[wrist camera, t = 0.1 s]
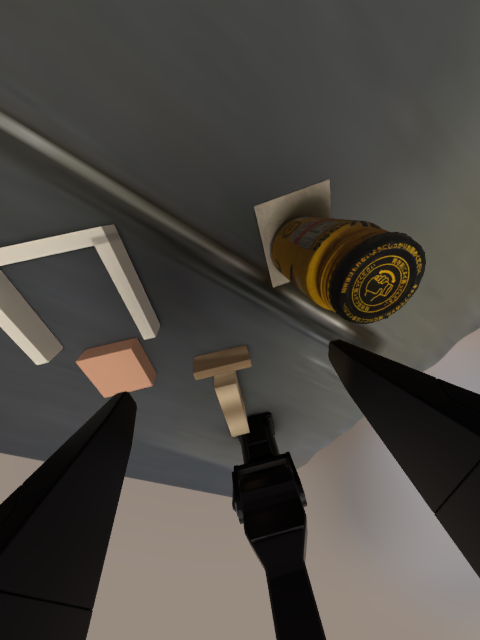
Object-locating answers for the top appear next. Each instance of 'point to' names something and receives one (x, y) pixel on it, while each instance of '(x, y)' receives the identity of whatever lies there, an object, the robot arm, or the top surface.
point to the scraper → (226, 383)
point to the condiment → (338, 256)
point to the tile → (117, 367)
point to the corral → (3, 298)
